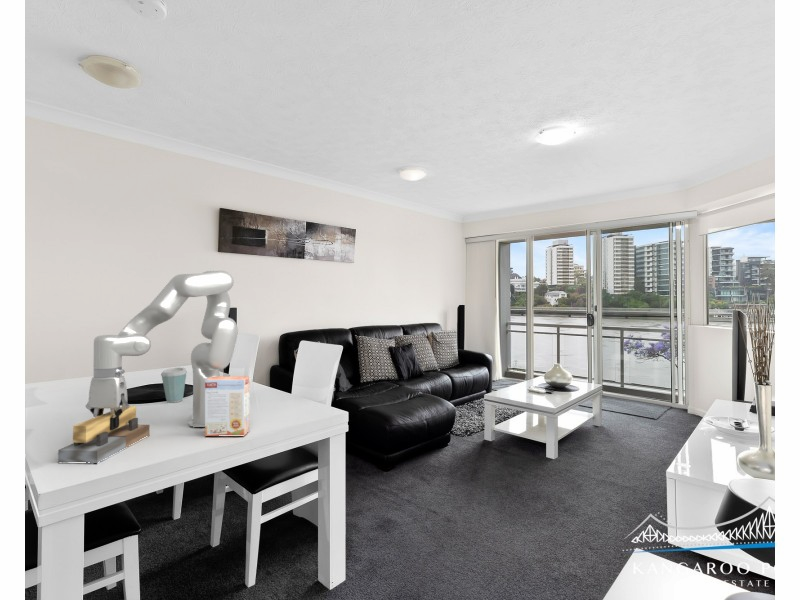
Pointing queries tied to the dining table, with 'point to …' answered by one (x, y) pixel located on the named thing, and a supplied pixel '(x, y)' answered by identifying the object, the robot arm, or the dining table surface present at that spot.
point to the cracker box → (226, 406)
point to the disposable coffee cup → (174, 384)
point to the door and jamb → (104, 444)
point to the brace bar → (100, 425)
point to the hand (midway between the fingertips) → (107, 427)
